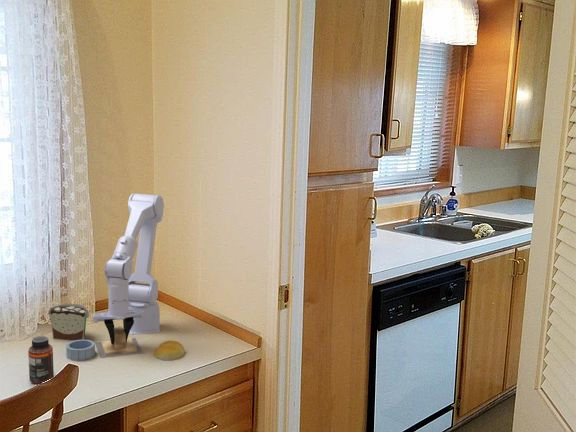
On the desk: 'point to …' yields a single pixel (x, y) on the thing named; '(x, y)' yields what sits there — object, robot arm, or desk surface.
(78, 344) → the bowl
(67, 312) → the food container
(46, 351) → the supplement bottle
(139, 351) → the mat
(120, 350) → the lid
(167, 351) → the bread roll
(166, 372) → the desk surface
